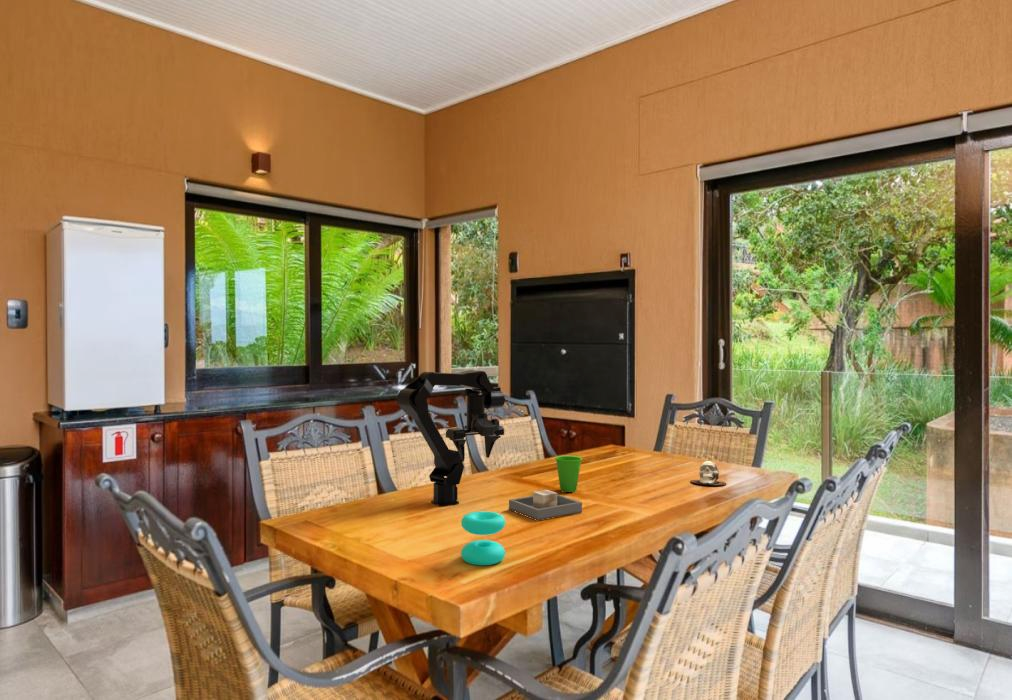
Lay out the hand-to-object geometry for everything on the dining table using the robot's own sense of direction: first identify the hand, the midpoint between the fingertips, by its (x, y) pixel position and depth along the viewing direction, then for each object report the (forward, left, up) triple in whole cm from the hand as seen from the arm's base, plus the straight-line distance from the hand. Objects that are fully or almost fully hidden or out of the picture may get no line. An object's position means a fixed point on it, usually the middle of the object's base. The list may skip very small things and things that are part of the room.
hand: (475, 459), depth 204 cm
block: (+8, -26, -12) cm, 30 cm away
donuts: (-29, -51, -12) cm, 60 cm away
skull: (+79, -27, -12) cm, 85 cm away
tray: (+8, -26, -12) cm, 30 cm away
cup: (+30, -10, -12) cm, 34 cm away
